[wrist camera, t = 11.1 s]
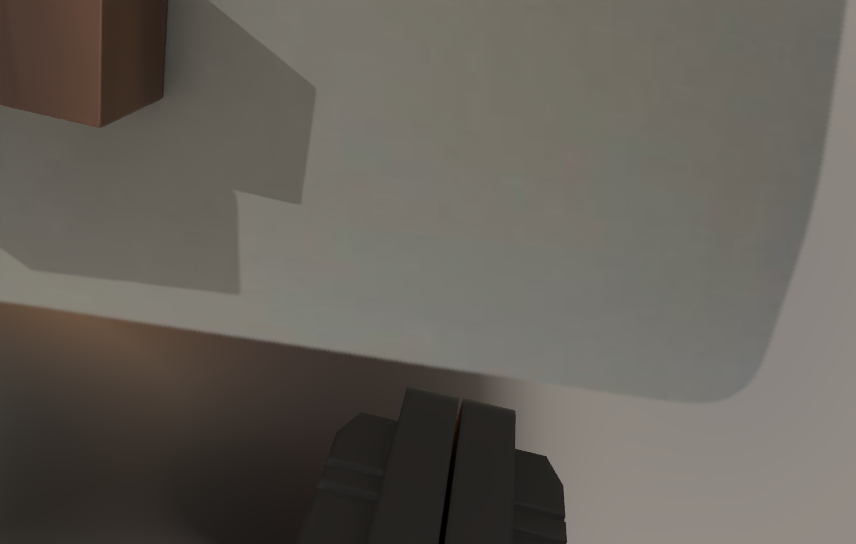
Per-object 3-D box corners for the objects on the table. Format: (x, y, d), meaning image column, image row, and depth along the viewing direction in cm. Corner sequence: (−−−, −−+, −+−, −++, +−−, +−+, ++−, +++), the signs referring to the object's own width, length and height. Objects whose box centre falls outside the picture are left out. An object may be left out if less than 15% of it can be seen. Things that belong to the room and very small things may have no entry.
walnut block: (169, -33, 29) (103, -25, 24) (163, 98, 31) (100, 129, 26) (40, -62, 29) (-50, -58, 24) (43, 71, 31) (-40, 97, 27)
